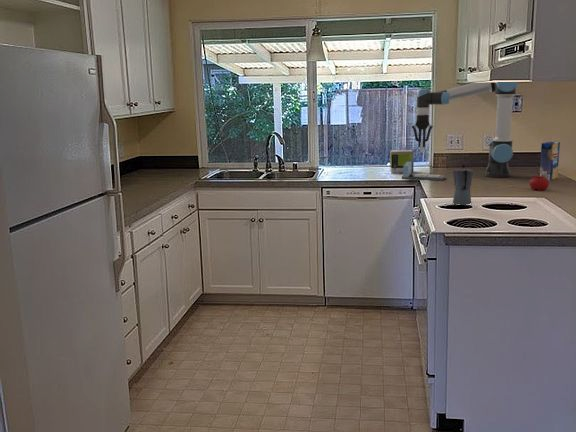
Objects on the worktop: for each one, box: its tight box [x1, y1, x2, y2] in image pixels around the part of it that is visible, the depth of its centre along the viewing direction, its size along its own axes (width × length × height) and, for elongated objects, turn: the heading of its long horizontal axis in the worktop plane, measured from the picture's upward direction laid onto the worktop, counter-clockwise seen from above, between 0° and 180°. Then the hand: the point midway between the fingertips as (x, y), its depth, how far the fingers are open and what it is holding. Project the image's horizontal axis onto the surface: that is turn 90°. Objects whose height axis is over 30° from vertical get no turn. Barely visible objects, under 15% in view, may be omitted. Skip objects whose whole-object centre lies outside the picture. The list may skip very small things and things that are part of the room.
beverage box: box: [539, 141, 561, 181], centre depth 371 cm, size 7×11×22 cm, turn 136°
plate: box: [401, 173, 446, 182], centre depth 384 cm, size 25×12×3 cm, turn 66°
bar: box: [402, 161, 414, 177], centre depth 381 cm, size 22×4×7 cm, turn 162°
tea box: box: [389, 149, 415, 174], centre depth 411 cm, size 15×10×15 cm, turn 84°
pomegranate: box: [529, 172, 550, 191], centre depth 336 cm, size 10×10×9 cm
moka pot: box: [452, 164, 474, 205], centre depth 297 cm, size 10×15×20 cm, turn 178°
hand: (421, 152), depth 382 cm, fingers closed
